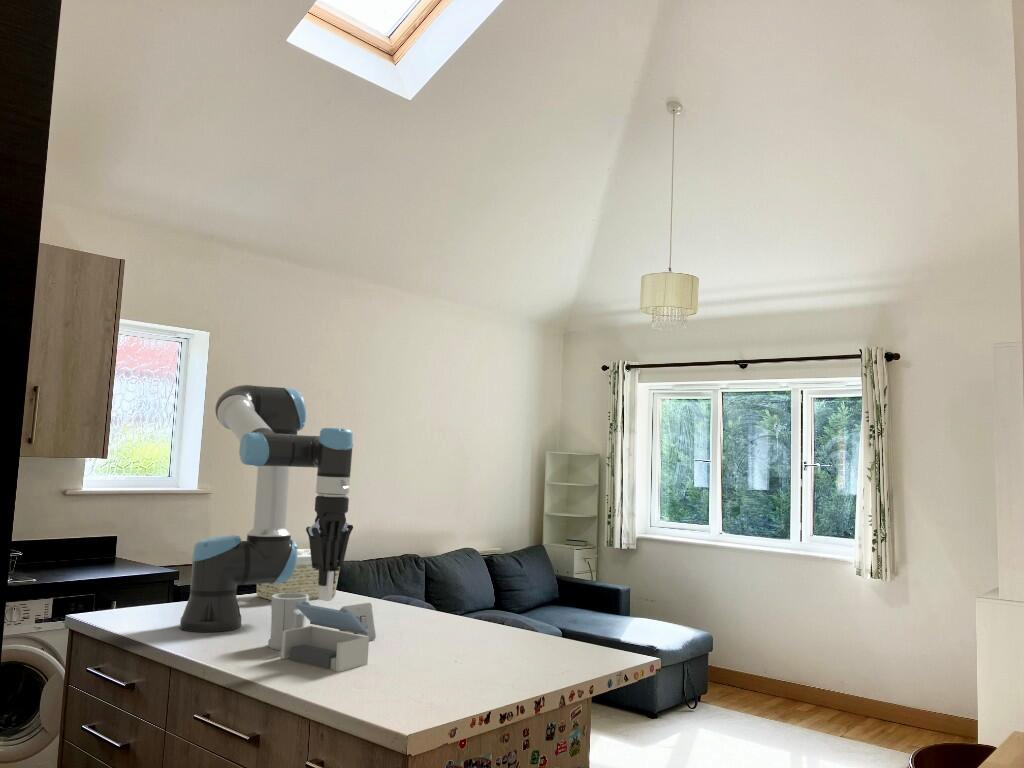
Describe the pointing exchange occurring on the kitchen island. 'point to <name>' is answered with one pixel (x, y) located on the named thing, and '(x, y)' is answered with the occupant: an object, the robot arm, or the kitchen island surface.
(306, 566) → the storage basket
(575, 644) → the kitchen island surface
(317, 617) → the cover
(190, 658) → the kitchen island surface
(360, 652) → the white u-shaped bracket
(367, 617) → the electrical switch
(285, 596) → the cup
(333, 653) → the dark grey block
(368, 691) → the kitchen island surface
